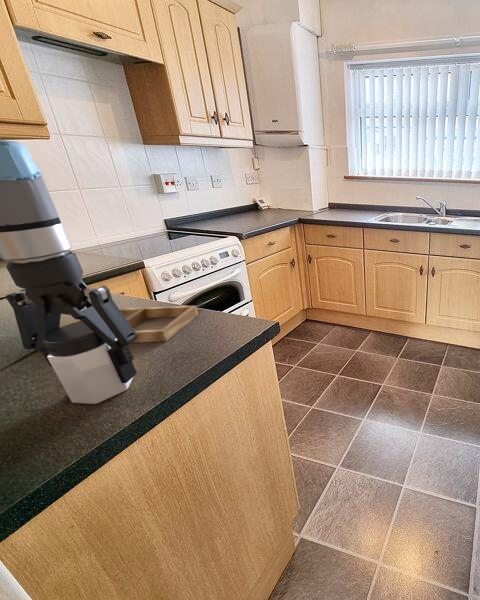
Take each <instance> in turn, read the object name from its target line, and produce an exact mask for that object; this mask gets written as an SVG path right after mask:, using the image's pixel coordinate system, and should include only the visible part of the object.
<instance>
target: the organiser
mask: <svg viewBox="0 0 480 600" xmlns="http://www.w3.org/2000/svg"><path fill="white" fill-rule="evenodd" d="M119 309H120V311H121V312H122V313H123V315H124V316H125V318H126V319H127V321H128V322H129V323H130V325H131V326H132V328H133V329H134V328H135V327H136V326H138V325H139V324H141V323H143V322H144V321H145V320H146V319H151V318H174V319H173V320H172V321H170V322H169V323H168V324H166V325H165V326H164V327H162V329H142V330H135V332H136V333H137V335H138V337H137V338H136V339H135V340H134V341H132V342H131V343H155V342H157V343H158V342H167V341H169V340H170V339H171V338H173V337H174V336H175V335H176V334H177V333H178V332H179V331H181V330H182V329H183V328H184V327H185V326H187V325H188V324H189V323H190V322H191V321H193V320H194V319H195V318H196V317H197V316H199V311H198V308H197V305H175V306H173V305H172V306H150V307H148V306H147V307H124V308H119ZM175 317H176V318H175ZM79 321H81V320H78V319H73V320H72V321H70V322H68V323H65V324H64V325H63V326H65V325H68V324H71V323H75V322H79ZM131 343H130V344H131Z"/></svg>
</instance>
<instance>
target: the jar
mask: <svg viewBox="0 0 480 600" xmlns="http://www.w3.org/2000/svg"><path fill="white" fill-rule="evenodd" d="M67 324H68V323H67ZM64 325H65V326H64ZM64 325H62V326H60V327H59V328H57V329H55V330H53V331H52V332H50V333H48V334H47V335H46V336H45V337H44V338H43V342H44V345H45V348H46V349H47V351H48V352H49V353H50V354H49V355H48V356H47V358H48V360H49V362H50V363H51V365H52V367H51V368H52V369H53V371H54V372H55V374H56V376H57V378H58V380H59V382H60V383H62V384H61V386H62V387H63V389H64V391H65V393H66V395H67V396H68V398H69V400H70V402H71V403H72V404H87V405H97V404H99V403H102V402H104V401H106V400H109V399H110V398H113V397H115V396H117V395H119V394H122V393H124V392H126V391H128V389H129V387H130V386H131V383H132V382H133V379H134V377H133V378H131V379H130V380H129V381H128V382H127V383H121V380H120V378H119V376H118V374H117V372H116V369H115V367H114V365H113V363H112V361H111V359H110V356H109V354H108V352H107V351H108V350H109V349H111V347H110V346H109V345H107V344H106V343H105V342H104V341H103V340H102V339H101V338H100V337H99V336H97V335H96V334H95V333H94V332H93V331H92V330H91V329H90V328H89V327H88V326H86V325H85V324H84V323H83V322H82V321H79V322H75V323H71V324H68V325H66V324H64ZM115 340H117V338H116V339H115Z"/></svg>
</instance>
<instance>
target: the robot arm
mask: <svg viewBox="0 0 480 600" xmlns="http://www.w3.org/2000/svg"><path fill="white" fill-rule="evenodd" d="M72 248H73V246H72V244H71V241H70V239H69V237H68V234H67V232H66V230H65V227H64V225H63V223H62V221H61V219H60V216H59V213H58V211H57V209H56V205H55V203H54V201H53V199H52V197H51V194H50V192H49V189H48V187H47V185H46V182H45V180H44V178H43V176H42V171H41V170H40V168H39V167H38V166H37V164H36V162H35V160H34V158H33V157H32V154H31V152H30V150H29V148H28V147H26V146H25V145H24V144H23V143H21V142H18V141H15V140H4V139H3V140H0V259H1V260H4V261H8V262H7V263H6V265H5V268H6V270H7V271H8V273H9V275H10V277H11V279H12V281H13V282H14V285H15V286H16V287H18V288H20V290H16V291H15V292H11V293H9V294H6V296H5V299H6V300H7V302H8V303H9V305H10V306H11V308H12V310H13V313H14V317H15V321H16V324H17V328H18V332H19V335H20V339H21V342H22V346H23V349H24V350H27V351H30V350H32V349H33V350H36V352H38V353H41V354H42V356H43V357H44V359H45V361H46V363H47V364H48V366H49V367H50V368H53V367H52V365H51V363H50V362H49V360H48V358H47V356H48V355H49V354H50V353H49V352H48V351H47V349H46V348H45V345H44V342H43V338H44V337H45V336H46V335H47V334H48V333H50V332H52V331H53V330H55V329H57V328H60V327H61V317H62V315H67V316H69V315H70V316H71V317H72V318H73V320H75V319H78V320H81V321H82V322H83V323H84V324H85V325H86V326H88V327H89V328H90V329H91V330H92V331H93V332H94V333H95V334H96V335H97V336H99V337H100V338H101V339H102V340H103V341H104V342H105V343H106V344H107V345H109V346H110V347H111V349H109V350H108V351H107V352H108V354H109V356H110V359H111V361H112V363H113V365H114V367H115V369H116V372H117V374H118V376H119V378H120V380H121V383H127V382H128V381H129V380H130V379H131V378H133V379H134V378H135V376H136V375H138V372H137V370H136V367H135V365H134V362H133V361H134V354H133V353H132V350H131V348H130V345H129V344H131V342H132V341H134V340H135V339H136V338H137V337H138V335H137V333H136V332H135V331H136V330H135V329H134V327H133V328H132V326H131V325H130V323H129V322H128V321H127V319H126V318H125V316H124V315H123V313H122V312H121V311H120V309H121V308H120V307H119V306H118V305H117V304H116V302H115V301H114V299H113V297H112V294H111V291H110V290H111V289H110V288H109V287H108V286H107V285H102V286H100V287H89V286H88V285H87V284H86V282H84V280H83V274H84V270H83V268H82V265H81V263H80V261H79V259H78V256H77V254H76V253H75V252H73V251H70V250H71V249H72ZM116 338H117V340H115V339H116ZM132 343H133V342H132ZM60 383H61V382H60ZM61 385H62V383H61Z"/></svg>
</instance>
